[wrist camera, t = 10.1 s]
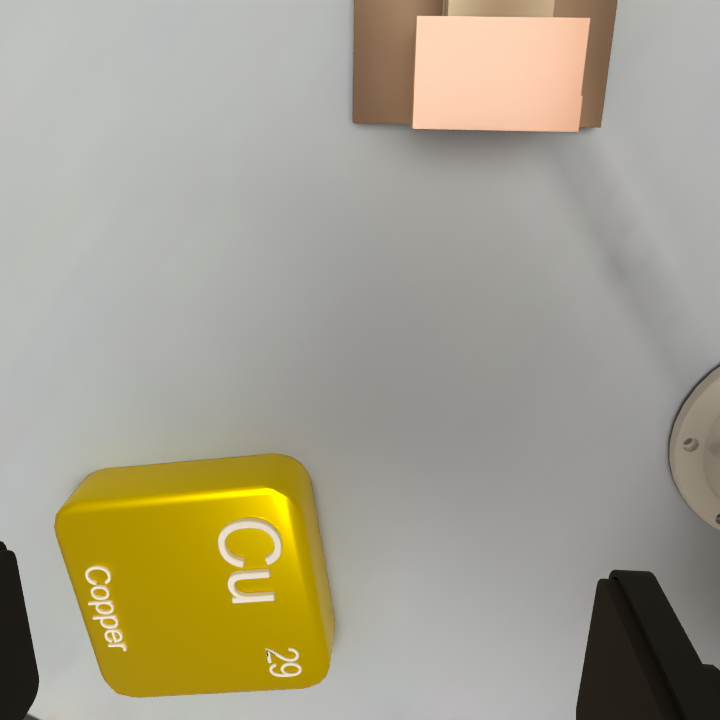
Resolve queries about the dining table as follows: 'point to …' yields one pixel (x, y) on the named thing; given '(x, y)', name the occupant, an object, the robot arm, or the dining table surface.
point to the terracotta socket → (498, 73)
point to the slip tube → (499, 8)
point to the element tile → (201, 576)
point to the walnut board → (395, 54)
